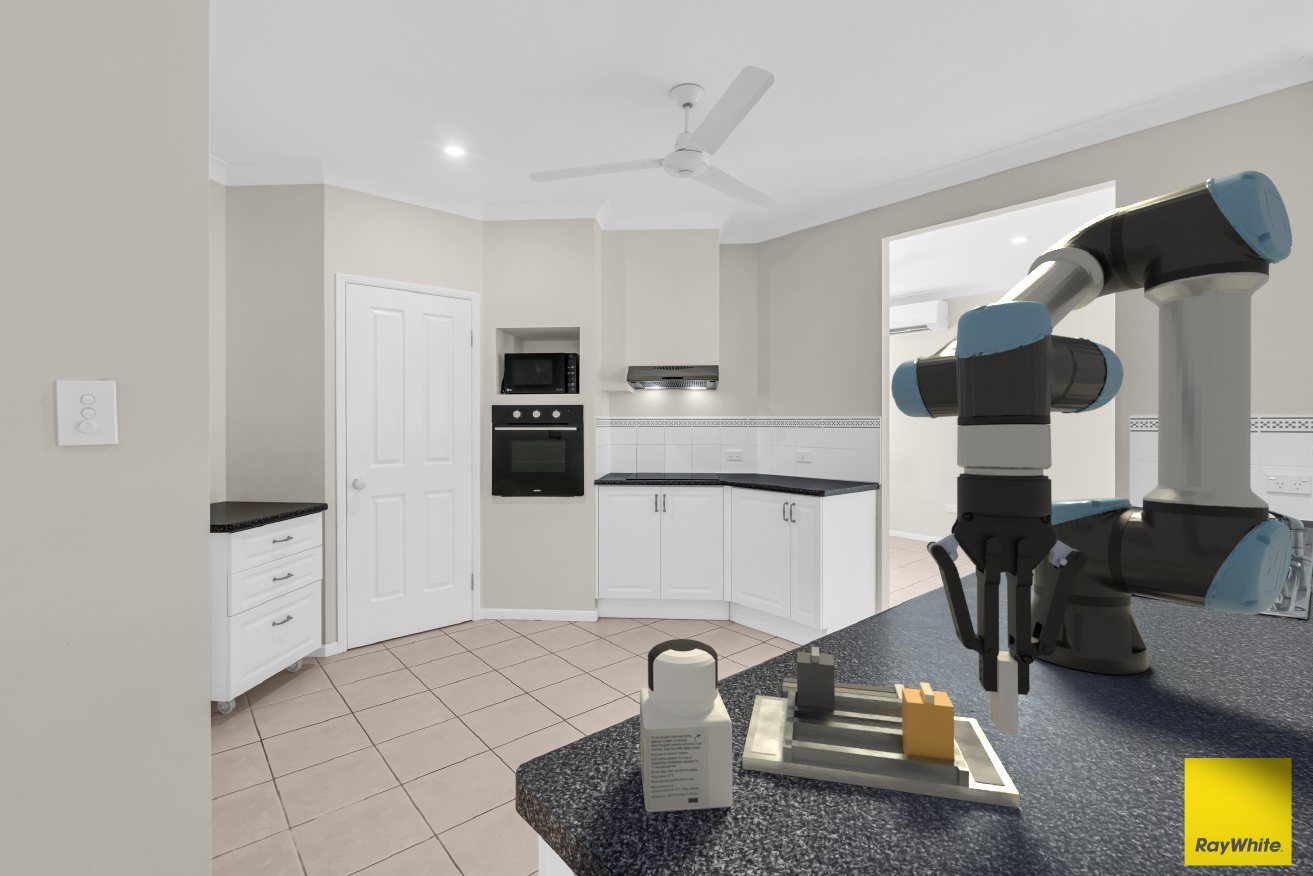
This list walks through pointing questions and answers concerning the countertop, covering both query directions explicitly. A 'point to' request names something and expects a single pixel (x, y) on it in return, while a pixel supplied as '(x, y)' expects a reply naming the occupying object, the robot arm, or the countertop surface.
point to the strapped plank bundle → (852, 689)
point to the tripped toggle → (927, 723)
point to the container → (684, 730)
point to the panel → (871, 749)
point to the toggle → (815, 680)
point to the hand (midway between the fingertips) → (1003, 726)
